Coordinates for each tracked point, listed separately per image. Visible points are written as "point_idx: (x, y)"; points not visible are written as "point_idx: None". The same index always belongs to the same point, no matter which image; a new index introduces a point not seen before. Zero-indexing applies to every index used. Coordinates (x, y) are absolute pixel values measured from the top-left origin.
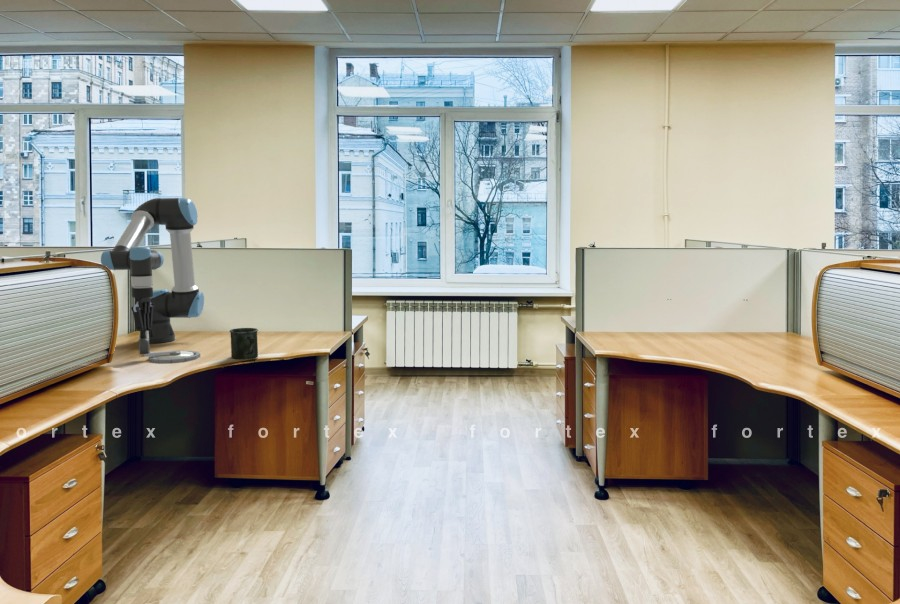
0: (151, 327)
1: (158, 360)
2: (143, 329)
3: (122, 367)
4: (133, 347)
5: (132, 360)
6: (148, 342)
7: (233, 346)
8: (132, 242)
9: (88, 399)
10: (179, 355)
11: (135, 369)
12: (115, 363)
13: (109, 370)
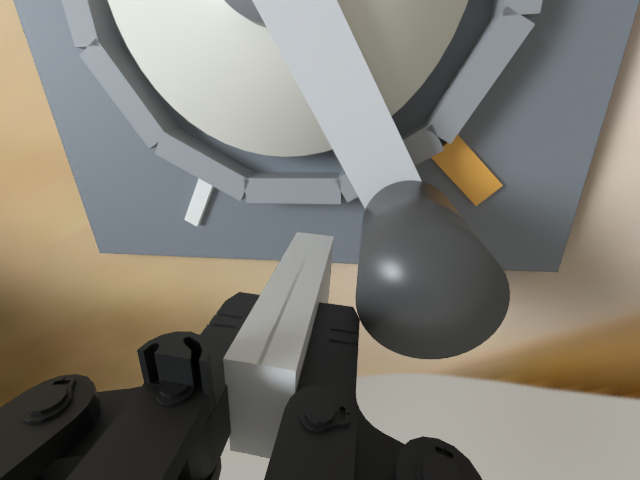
0: (69, 377)
1: (529, 25)
2: (414, 451)
3: (518, 293)
4: (7, 400)
5: None
6: (432, 215)
7: None
8: None
9: None
10: None
11: (632, 178)
12: (379, 365)
13: (612, 333)
